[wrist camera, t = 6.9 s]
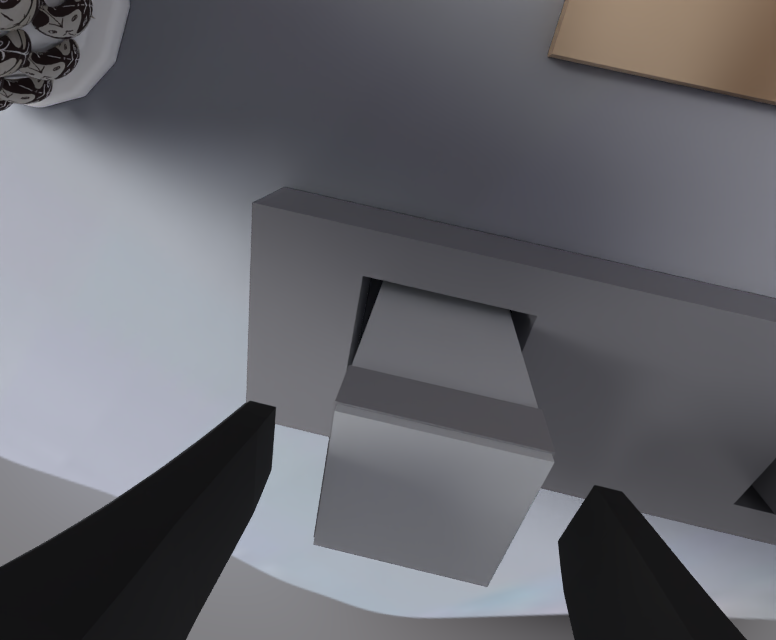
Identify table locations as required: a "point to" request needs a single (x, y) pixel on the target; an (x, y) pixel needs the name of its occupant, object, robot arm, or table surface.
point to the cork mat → (676, 42)
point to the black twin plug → (767, 485)
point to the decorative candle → (57, 48)
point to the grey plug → (433, 439)
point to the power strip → (537, 350)
